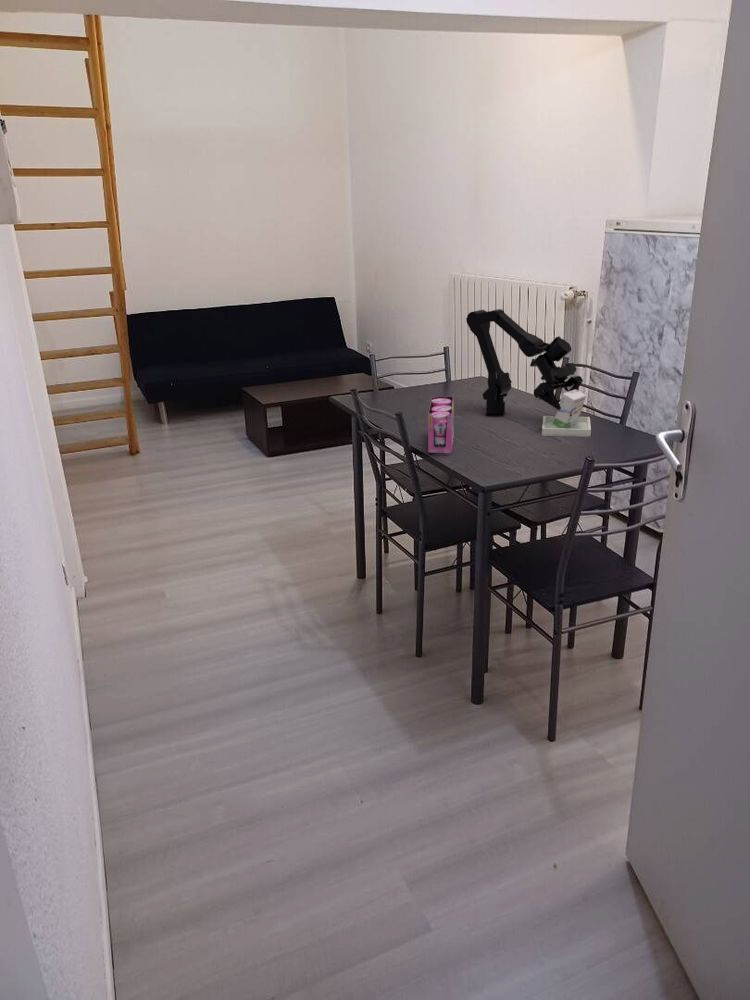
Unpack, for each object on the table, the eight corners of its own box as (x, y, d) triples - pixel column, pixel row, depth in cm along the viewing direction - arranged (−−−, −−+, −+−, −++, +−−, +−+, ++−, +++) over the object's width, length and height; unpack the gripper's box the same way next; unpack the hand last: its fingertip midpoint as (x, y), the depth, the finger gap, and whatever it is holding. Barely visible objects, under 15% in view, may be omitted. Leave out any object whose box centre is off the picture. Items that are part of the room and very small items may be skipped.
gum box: (452, 456, 242) (452, 414, 237) (427, 456, 243) (426, 415, 238) (454, 434, 264) (454, 396, 259) (431, 434, 265) (430, 396, 260)
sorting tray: (541, 435, 258) (542, 428, 257) (543, 422, 272) (543, 415, 271) (590, 436, 254) (591, 429, 253) (589, 423, 269) (589, 416, 268)
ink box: (563, 430, 259) (574, 399, 252) (551, 424, 261) (562, 393, 255) (576, 425, 264) (587, 394, 258) (564, 418, 267) (575, 388, 261)
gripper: (541, 359, 253) (563, 398, 248) (581, 352, 262) (603, 389, 257) (523, 378, 262) (544, 416, 257) (563, 371, 271) (583, 407, 266)
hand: (569, 407), depth 259 cm, fingers closed on ink box, 9 cm apart
